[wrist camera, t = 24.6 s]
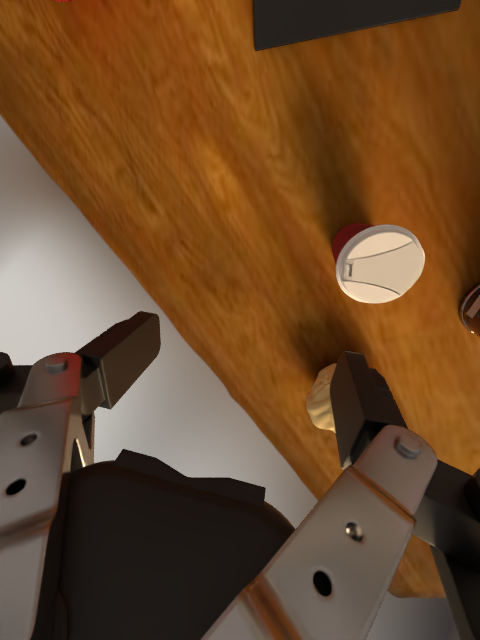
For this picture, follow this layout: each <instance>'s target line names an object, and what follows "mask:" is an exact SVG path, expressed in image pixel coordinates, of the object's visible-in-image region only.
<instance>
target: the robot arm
mask: <svg viewBox="0 0 480 640" xmlns="http://www.w3.org/2000/svg"><path fill="white" fill-rule="evenodd" d="M459 317H460V320H461V322H462V324H463V325H464V326H465V327H466V328H467V329H468V330H470V331H471V332H473V333H474V334H476V335H477V336H479V337H480V283H478V284H477V285H475V286H474V287H473V288H472V289H471V290H470V291H469V292H468V293H467V294H466V295H465V297H464V298H463V300H462V302H461V304H460V308H459ZM160 345H161V343H160V324H159V317H158V315H157V314H153V313H148V312H143V311H140V312H138V313H137V314H135V315H134V316H133V317H131V318H130V319H128V320H124V321H122V322H119V323H116V324H115V325H113V326H112V327H110V328H109V329H107V331H105V332H103V333H102V334H101V335H100V336H98V337H96V338H95V339H93V340H92V341H91V342H89V343H88V344H86V345H85V346H84V347H82V348H81V349H79V350H78V351H77V352H75V353H70V352H63V353H56V354H52V355H49V356H46V357H44V358H42V359H40V360H39V361H37V362H36V363H35V364H34V365H22V366H21V365H18V366H17V365H16V366H15V365H12V362H11V359H10V357H9V355H8V354H6V353H3V352H0V640H366V638H367V636H368V634H369V632H370V629H371V627H372V624H373V622H374V620H375V617H376V615H377V613H378V611H379V608H380V606H381V604H382V601H383V599H384V597H385V595H386V592H387V590H388V588H389V585H390V583H391V581H392V579H393V576H394V574H395V572H396V569H397V567H398V565H399V562H400V560H401V558H402V555H403V553H404V551H405V549H406V546H407V544H408V542H409V539H410V537H411V535H412V534H414V535H415V536H417V537H419V538H420V539H422V540H424V541H425V542H427V543H429V545H430V548H431V551H432V554H433V557H434V560H435V563H436V566H437V569H438V572H439V575H440V579H441V582H442V585H443V588H444V591H445V594H446V597H447V600H448V603H449V606H450V609H451V612H452V615H453V618H454V621H455V624H456V628H457V631H458V634H459V637H460V640H480V468H479V469H478V470H477V471H476V472H475V473H474V475H473V476H472V475H469V474H467V473H465V472H463V471H461V470H459V469H457V468H455V467H452V466H450V465H448V464H446V463H444V462H442V461H440V460H438V459H437V457H436V454H435V452H434V450H433V449H432V447H431V446H430V445H429V444H428V443H427V442H426V441H425V440H424V439H423V438H422V437H420V436H419V435H418V434H416V433H414V432H413V431H411V430H409V429H408V428H407V425H406V423H405V421H404V419H403V417H402V415H401V413H400V410H399V408H398V406H397V404H396V402H395V400H394V399H393V396H392V393H391V391H389V387H388V385H387V383H386V381H385V379H384V378H383V377H382V376H381V375H380V374H379V373H378V372H377V371H376V370H375V369H372V368H369V367H368V365H367V362H366V360H365V357H364V355H363V354H360V353H354V352H349V351H344V350H343V351H342V352H341V354H340V356H339V359H338V362H337V365H336V368H335V371H334V374H333V377H332V380H331V383H330V400H331V406H332V412H333V419H334V425H335V431H336V438H337V444H338V450H339V456H340V463H341V469H345V470H344V471H343V472H342V473H341V475H340V476H339V477H338V478H337V480H336V481H335V482H334V483H333V484H332V486H331V487H330V488H329V489H328V490H327V492H326V493H325V494H324V495H323V497H322V498H321V499H320V500H319V501H318V503H317V504H316V505H315V506H314V508H313V509H312V510H311V511H310V513H309V514H308V515H307V516H306V517H305V519H304V520H303V521H302V522H301V523H300V525H299V526H298V527H297V528H296V529H295V528H294V527H293V526H292V524H291V523H290V522H289V521H288V520H287V519H286V518H285V517H284V516H283V515H282V514H281V513H280V512H279V511H278V510H277V509H275V508H274V507H273V506H272V505H270V504H268V503H267V502H265V501H264V498H265V488H264V487H261V486H257V485H253V484H250V483H246V482H243V481H239V480H235V479H232V478H191V477H186V476H184V475H183V474H181V473H179V472H178V471H176V470H175V469H173V468H172V467H170V466H168V465H167V464H165V463H164V462H162V461H160V460H159V459H157V458H155V457H151V456H147V455H144V454H140V453H136V452H133V451H129V450H125V449H123V450H122V451H121V453H120V454H119V456H118V457H117V459H116V460H115V461H114V460H112V461H103V462H99V463H94V427H95V426H94V425H95V416H94V410H95V409H96V408H97V407H98V406H99V407H103V408H107V409H111V408H112V407H113V406H114V405H115V404H116V403H117V402H118V401H119V399H120V398H121V397H122V396H123V395H124V394H125V393H126V391H127V390H128V389H129V388H130V387H131V386H132V384H133V383H134V382H135V381H136V380H137V378H138V377H139V376H140V375H141V374H142V373H143V372H144V370H146V368H147V367H148V366H149V365H150V364H151V363H152V361H153V360H154V359H155V358H156V357H157V355H158V353H159V350H160Z"/></svg>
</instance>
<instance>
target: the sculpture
mask: <svg viewBox="0 0 480 640" xmlns="http://www.w3.org/2000/svg"><path fill="white" fill-rule="evenodd" d="M336 365H337V364H336V363H334V364H331V365H329V366H327V367H326V368H324V369H322V370H321V371H320V372H319V373H318V377H317V379H316V381H315V383H314V384H313V387H312V389H311V392H310V393H308V394H307V397H306V399H307V403H306V408H307V411H308V413H309V414H310V417H311V420H312V422H313V423H314V425H315V426H316V427H318V428H321V429H329V430H332V431H333V432H335V433H336V431H335V425H334V419H333V412H332V406H331V400H330V383H331V380H332V377H333V374H334V371H335V368H336Z"/></svg>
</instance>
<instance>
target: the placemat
mask: <svg viewBox="0 0 480 640" xmlns="http://www.w3.org/2000/svg"><path fill="white" fill-rule="evenodd" d="M253 1H254V32H255V50H256V51H257V50H262V49H267V48H272V47H277V46H282V45H287V44H292V43H297V42H302V41H307V40H312V39H317V38H322V37H327V36H332V35H337V34H342V33H346V32H351V31H356V30H361V29H366V28H371V27H376V26H381V25H386V24H391V23H396V22H401V21H406V20H411V19H416V18H421V17H426V16H430V15H435V14H440V13H445V12H450V11H455V10H458V9H459V8H460V4H461V0H253Z"/></svg>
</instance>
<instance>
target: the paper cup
mask: <svg viewBox="0 0 480 640" xmlns="http://www.w3.org/2000/svg"><path fill="white" fill-rule="evenodd" d="M332 251H333V255H334V259H335V263H336V277H337V281H338V284H339V285H340V287H341V289H342V290H343V291H344V292H345V293H346V294H347V295H348V296H349V297H351V298H353V299H355V300H357V301H360V302H364V303H384V302H388V301H391V300H394V299H396V298H398V297H400V296H401V295H403V294H404V293H405V292H406V291H407V290H408V289H409V288H411V287H412V286H413V284H414V283H415V282H416V281H417V279H418V278H419V277H420V275H421V273H422V270H423V267H424V262H425V253H424V251H423V249H422V247H421V244H420V242H419V240H418V239H417V238H416V236H415V235H413V234H412V233H411V232H410V231H408V230H407V229H405V228H402V227H400V226H395V225H377V226H375V225H368V224H361V223H354V224H350V225H347V226H345V227H343V228H342V229H341V230H340V231H339V232H338V233H337V234H336V236H335V237H334V240H333V243H332Z"/></svg>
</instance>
